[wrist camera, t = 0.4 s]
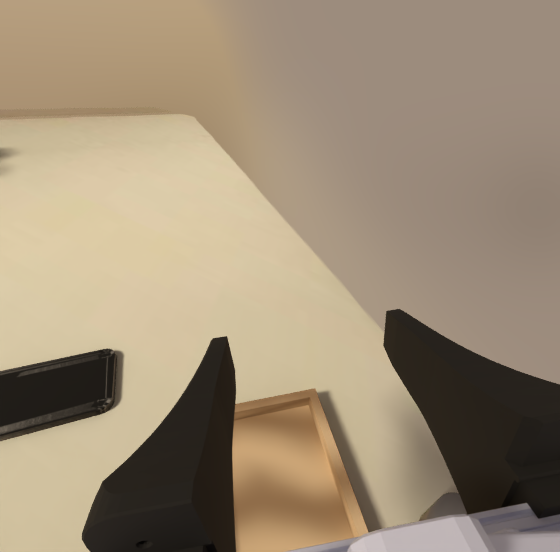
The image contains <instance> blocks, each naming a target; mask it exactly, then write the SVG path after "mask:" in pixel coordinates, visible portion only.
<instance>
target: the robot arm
mask: <svg viewBox="0 0 560 552" xmlns="http://www.w3.org/2000/svg"><path fill="white" fill-rule="evenodd" d="M384 348H385V350H386V352H387V355H388V357H389V359H390V361H391V363H392V366H393V367H394V369H395V371H396V372H397V374H398V375H399V377H400V379H401V380H402V382H403V384H404V385H405V387H406V388H407V390H408V392H409V393H410V395H411V396H412V398H413V400H414V401H415V403H416V404H417V406H418V408H419V409H420V411H421V413H422V415H423V416H424V418H425V420H426V422H427V424H428V426H429V428H430V430H431V432H432V434H433V436H434V438H435V441H436V443H437V445H438V447H439V449H440V451H441V453H442V456H443V458H444V460H445V462H446V464H447V467H448V469H449V471H450V474H451V476H452V478H453V480H454V483H455V485H456V487H457V490H458V492H459V495H460V497H461V500H462V502H463V505H464V507H465V510H466V512H467V514H468V515H466V514H458V515H448V516H443V517H438V518H433V519H428V520H423V521H418V522H413V523H408V524H403V525H398V526H393V527H389V528H384V529H379V530H376V531H372V532H369V533H366V534H363V535H362V536H360V537H355V538H350V539H345V540H340V541H335V542H330V543H325V544H320V545H315V546H310V547H305V548H300V549H295V550H290V551H285V552H560V385H559V384H556V383H552V382H549V381H546V380H543V379H540V378H536V377H533V376H531V375H528V374H525V373H522V372H519V371H516V370H514V369H511V368H509V367H506V366H504V365H501V364H499V363H496V362H494V361H491V360H489V359H487V358H485V357H482V356H480V355H478V354H476V353H474V352H472V351H470V350H468V349H466V348H464V347H462V346H460V345H458V344H457V343H455V342H453V341H451V340H449V339H447V338H446V337H444V336H442V335H441V334H439V333H437V332H436V331H434V330H432V329H431V328H429V327H428V326H426V325H424V324H423V323H421V322H419V321H418V320H417V319H415V318H413V317H412V316H410V315H409V314H407V313H405V312H404V311H402V310H400V309H397V310H391V311H387V312H386V323H385V334H384ZM235 399H236V381H235V368H234V364H233V360H232V356H231V351H230V347H229V343H228V339H227V336H226V337H219V338H213V339H212V340H211V342H210V345H209V347H208V349H207V351H206V353H205V356H204V358H203V360H202V362H201V364H200V365H199V367H198V369H197V371H196V373H195V375H194V376H193V378H192V380H191V381H190V383H189V385H188V386H187V388H186V390H185V391H184V393H183V394H182V396H181V397H180V399H179V400H178V402H177V403H176V405H175V406H174V407H173V409H172V410H171V411H170V413H169V414H168V415H167V416H166V418H165V419H164V420H163V421H162V423H161V424H160V425H159V426H158V428H157V429H156V430H155V431H154V432H153V433H152V434H151V436H150V437H149V438H148V439H147V440H146V441H145V442H144V443H143V444H142V445H141V446H140V447H139V448H138V449H137V450H136V451H135V452H134V453H133V454H132V455H131V456H130V457H129V458H128V459H127V460H126V461H125V462H124V463H123V464H122V465H121V466H120V467H118V468H117V469H116V470H115V471H114V472H113V473H112V474H111V475H110V476H108V477H107V478H106V479H105V480H104V481H103V482H102V484H101V486H100V489H99V491H98V493H97V495H96V497H95V499H94V502H93V504H92V507H91V510H90V512H89V515H88V518H87V521H86V524H85V526H84V529H83V532H82V540H83V542H84V544H85V545H86V547H87V548H88V549H89V551H90V552H236V540H235V519H234V495H233V461H232V445H233V428H234V414H235Z"/></svg>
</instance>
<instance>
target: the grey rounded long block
mask: <svg viewBox="0 0 560 552" xmlns="http://www.w3.org/2000/svg"><path fill="white" fill-rule="evenodd" d="M458 514H466V515H468V514H467V512H466V510H465V507H464V505H463V502H462V500H461V497H460V495H459V494H458V493H446V494H444V495H443V496H441V497H440V498H439V499H438V500H437V501H436V502H435V503H434V504H433V505H432V506H431V507H430V508H429V509H428V510H427V511H426V512H425V513H424V514H423V515H422V516H421V517H420V520H419V521H423V520H428V519H433V518H438V517H443V516H448V515H458Z"/></svg>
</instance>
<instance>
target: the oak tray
mask: <svg viewBox="0 0 560 552" xmlns="http://www.w3.org/2000/svg"><path fill="white" fill-rule="evenodd" d="M232 461H233V495H234V519H235V540H236V552H285V551H290V550H295V549H300V548H305V547H310V546H315V545H320V544H325V543H330V542H335V541H340V540H345V539H350V538H355V537H360V536H362V535H363V534H366V533H369V532H368V530H367V527H366V524H365V522H364V519H363V516H362V513H361V511H360V508H359V505H358V503H357V500H356V497H355V495H354V492H353V489H352V486H351V484H350V481H349V478H348V476H347V473H346V470H345V468H344V465H343V462H342V459H341V457H340V454H339V451H338V449H337V446H336V443H335V441H334V438H333V435H332V433H331V430H330V427H329V424H328V422H327V419H326V416H325V414H324V411H323V408H322V406H321V403H320V400H319V397H318V395H317V392H316V389H310V390H305V391H300V392H295V393H290V394H285V395H279V396H274V397H269V398H264V399H259V400H254V401H249V402H244V403H239V404H235V414H234V428H233V445H232Z"/></svg>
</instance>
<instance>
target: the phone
mask: <svg viewBox="0 0 560 552" xmlns="http://www.w3.org/2000/svg"><path fill="white" fill-rule="evenodd" d="M116 363H117V357H116V354H115V352H114V351H113V350H112V349H102V350H98V351H93V352H88V353H84V354H79V355H74V356H70V357H65V358H60V359H56V360H51V361H46V362H41V363H37V364H32V365H27V366H23V367H18V368H13V369H9V370H4V371H0V441H3V440H7V439H10V438H14V437H18V436H22V435H25V434H29V433H33V432H36V431H40V430H44V429H48V428H51V427H55V426H59V425H63V424H66V423H70V422H74V421H77V420H81V419H85V418H89V417H92V416H96V415H100V414H103V413H105V412H106V411H108V410H109V409H110V408H111V407H112V405H113V403H114V394H115V379H116Z"/></svg>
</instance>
